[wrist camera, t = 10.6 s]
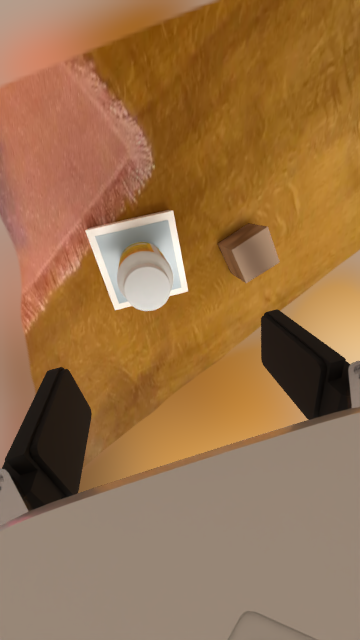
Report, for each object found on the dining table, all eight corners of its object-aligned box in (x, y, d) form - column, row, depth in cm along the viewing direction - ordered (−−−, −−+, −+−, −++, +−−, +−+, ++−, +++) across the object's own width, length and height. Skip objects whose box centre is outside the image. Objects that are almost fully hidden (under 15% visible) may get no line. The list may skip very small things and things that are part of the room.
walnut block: (248, 223, 31) (267, 226, 27) (259, 254, 34) (279, 262, 29) (217, 243, 32) (231, 250, 27) (230, 272, 34) (246, 283, 30)
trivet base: (168, 209, 28) (173, 210, 26) (183, 284, 33) (188, 291, 30) (89, 227, 27) (85, 230, 25) (116, 301, 32) (115, 310, 30)
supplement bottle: (171, 254, 28) (191, 277, 19) (151, 291, 29) (160, 327, 21) (131, 231, 26) (133, 245, 17) (111, 272, 27) (104, 303, 19)
